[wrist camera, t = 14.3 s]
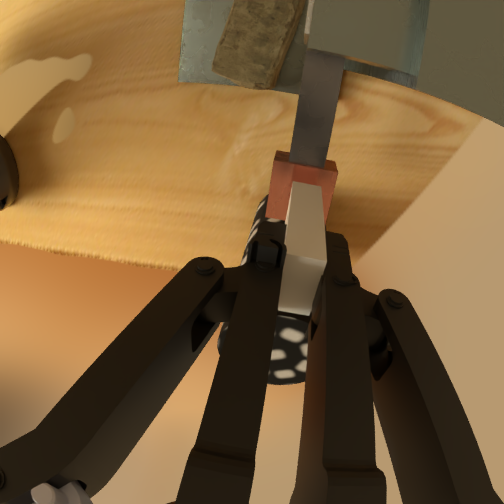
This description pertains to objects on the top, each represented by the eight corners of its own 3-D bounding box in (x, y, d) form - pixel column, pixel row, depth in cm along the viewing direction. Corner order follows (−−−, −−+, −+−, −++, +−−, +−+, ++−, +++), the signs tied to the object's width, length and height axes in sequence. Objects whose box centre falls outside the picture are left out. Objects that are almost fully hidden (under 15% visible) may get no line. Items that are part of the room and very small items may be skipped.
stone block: (310, -7, 22) (311, -19, 18) (274, 92, 29) (269, 98, 25) (252, -23, 22) (243, -36, 18) (219, 76, 28) (205, 80, 24)
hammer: (274, 176, 24) (259, 239, 17) (299, 12, 17) (296, -17, 9) (320, 185, 24) (326, 251, 17) (350, 22, 17) (380, 1, 9)
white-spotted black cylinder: (314, 179, 35) (318, 304, 19) (332, 239, 39) (341, 378, 23) (246, 197, 38) (197, 323, 21) (269, 253, 42) (242, 388, 25)
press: (182, 80, 30) (12, 143, 11) (193, -19, 23) (29, -84, 4) (369, 108, 29) (479, 213, 10) (386, 5, 22) (526, -57, 3)
